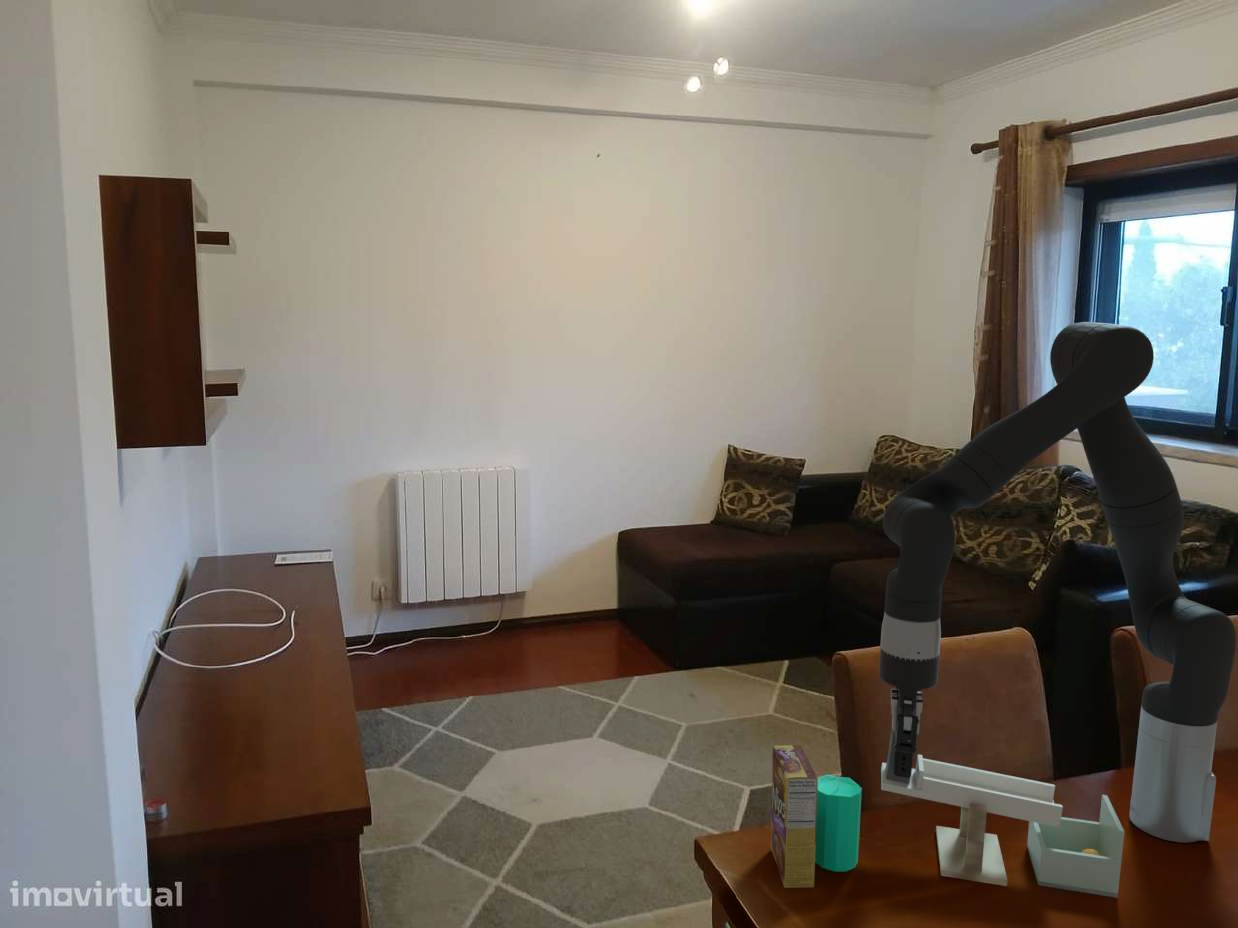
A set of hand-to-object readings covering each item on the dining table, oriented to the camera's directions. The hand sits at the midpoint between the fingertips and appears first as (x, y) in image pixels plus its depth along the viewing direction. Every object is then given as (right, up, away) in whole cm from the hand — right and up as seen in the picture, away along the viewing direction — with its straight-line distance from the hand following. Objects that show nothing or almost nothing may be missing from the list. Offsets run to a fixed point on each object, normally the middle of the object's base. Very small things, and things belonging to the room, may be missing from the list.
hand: (901, 767), depth 125 cm
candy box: (-16, -12, -4) cm, 20 cm away
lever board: (+8, -4, -2) cm, 9 cm away
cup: (+21, -12, -3) cm, 25 cm away
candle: (-9, -12, -1) cm, 15 cm away
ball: (+23, -11, -5) cm, 26 cm away
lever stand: (+9, -12, -1) cm, 15 cm away
